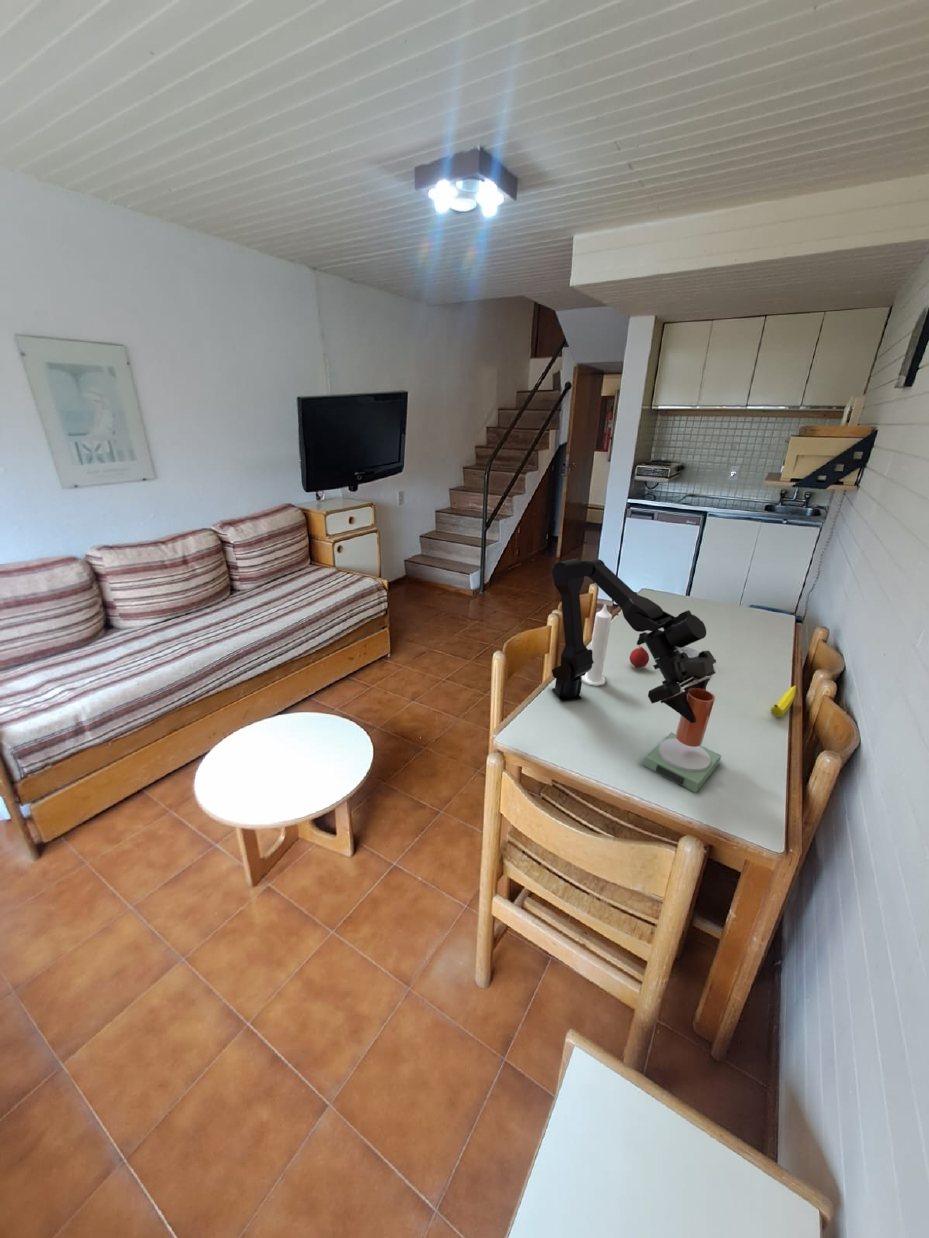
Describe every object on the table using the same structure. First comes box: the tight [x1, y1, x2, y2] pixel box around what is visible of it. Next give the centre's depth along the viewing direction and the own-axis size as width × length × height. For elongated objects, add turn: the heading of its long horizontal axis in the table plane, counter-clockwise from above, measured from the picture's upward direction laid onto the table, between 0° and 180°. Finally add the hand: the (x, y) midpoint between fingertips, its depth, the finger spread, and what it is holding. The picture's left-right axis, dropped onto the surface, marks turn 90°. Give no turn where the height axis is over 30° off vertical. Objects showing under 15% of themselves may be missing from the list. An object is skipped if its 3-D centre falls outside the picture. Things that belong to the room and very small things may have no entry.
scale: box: [643, 731, 722, 793], centre depth 114 cm, size 14×12×3 cm
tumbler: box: [675, 688, 716, 747], centre depth 111 cm, size 6×6×12 cm
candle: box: [581, 603, 613, 687], centre depth 145 cm, size 7×7×25 cm
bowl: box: [675, 646, 701, 658], centre depth 159 cm, size 13×13×5 cm
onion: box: [629, 645, 650, 670], centre depth 157 cm, size 6×6×8 cm
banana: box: [770, 685, 797, 718], centre depth 136 cm, size 3×19×6 cm, turn 134°
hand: (700, 718), depth 109 cm, fingers closed on tumbler, 5 cm apart
